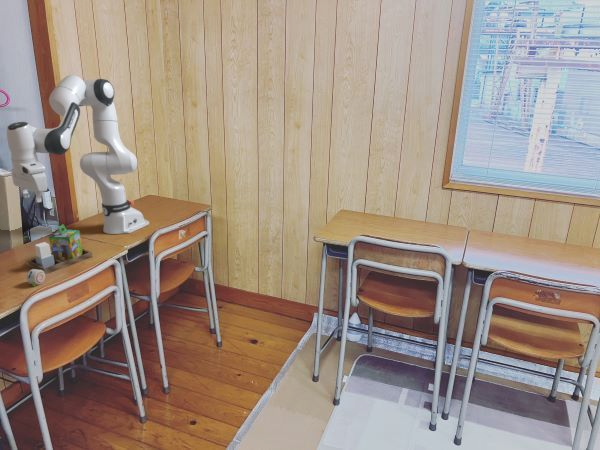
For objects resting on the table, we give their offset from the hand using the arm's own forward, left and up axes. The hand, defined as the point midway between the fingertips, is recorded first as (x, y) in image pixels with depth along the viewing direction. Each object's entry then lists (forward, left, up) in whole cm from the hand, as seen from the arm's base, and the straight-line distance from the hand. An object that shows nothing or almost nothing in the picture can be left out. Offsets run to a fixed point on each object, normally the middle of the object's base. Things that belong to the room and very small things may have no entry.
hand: (32, 199), depth 196 cm
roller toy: (+10, +12, -29) cm, 33 cm away
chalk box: (-10, 0, -29) cm, 31 cm away
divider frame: (-6, 0, -29) cm, 30 cm away
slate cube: (0, 0, -29) cm, 29 cm away
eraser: (0, 0, -24) cm, 24 cm away
